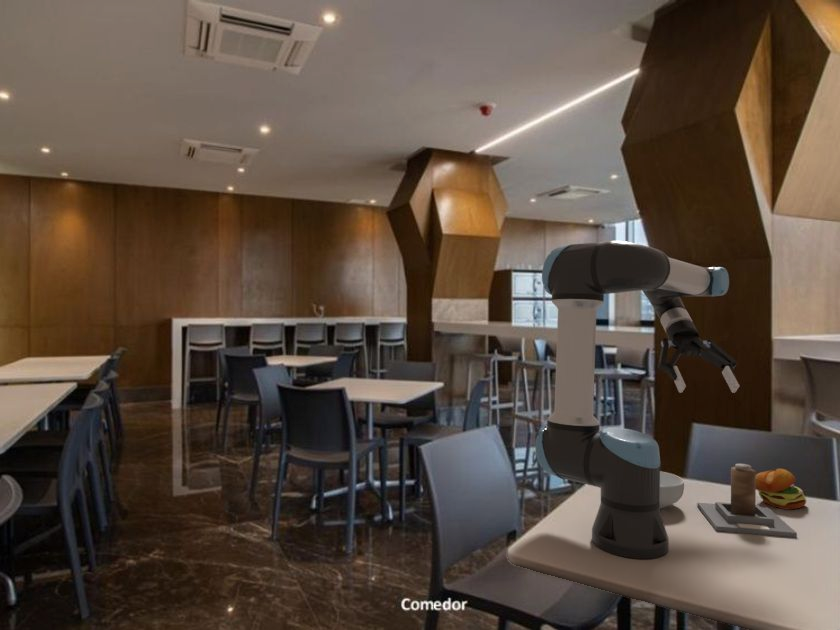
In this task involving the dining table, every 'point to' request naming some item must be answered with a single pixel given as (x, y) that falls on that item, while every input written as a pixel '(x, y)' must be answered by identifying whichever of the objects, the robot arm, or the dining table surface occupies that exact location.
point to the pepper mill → (743, 490)
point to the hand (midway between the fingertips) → (709, 389)
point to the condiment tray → (745, 520)
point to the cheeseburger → (779, 489)
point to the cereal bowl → (670, 489)
